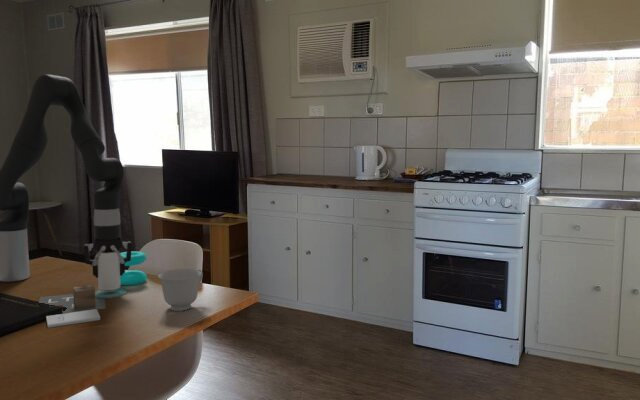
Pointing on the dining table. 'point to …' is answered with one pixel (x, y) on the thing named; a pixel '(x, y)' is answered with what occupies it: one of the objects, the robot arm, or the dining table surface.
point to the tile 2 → (98, 302)
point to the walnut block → (84, 296)
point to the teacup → (180, 287)
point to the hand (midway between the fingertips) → (109, 275)
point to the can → (108, 271)
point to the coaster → (110, 293)
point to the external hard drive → (72, 318)
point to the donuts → (133, 275)
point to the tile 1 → (57, 299)
